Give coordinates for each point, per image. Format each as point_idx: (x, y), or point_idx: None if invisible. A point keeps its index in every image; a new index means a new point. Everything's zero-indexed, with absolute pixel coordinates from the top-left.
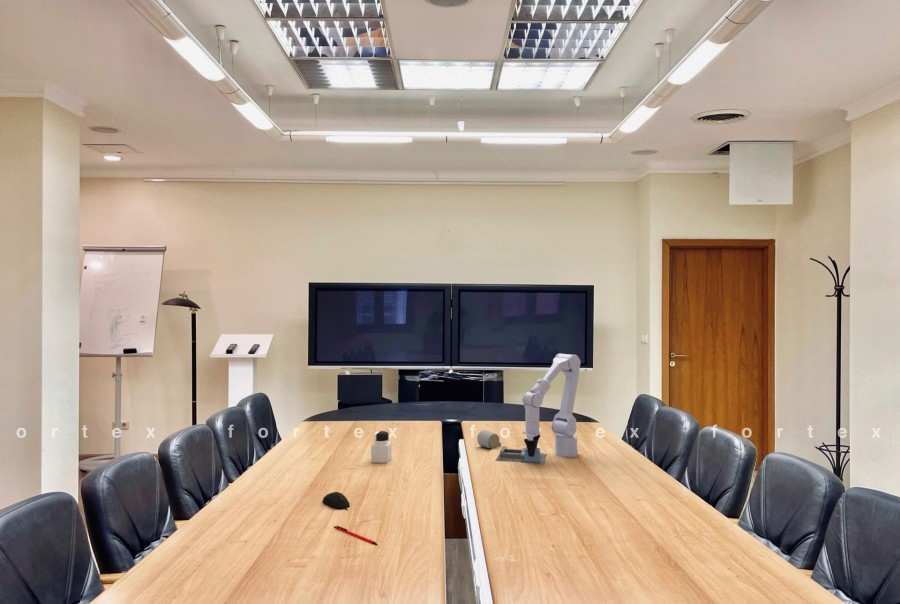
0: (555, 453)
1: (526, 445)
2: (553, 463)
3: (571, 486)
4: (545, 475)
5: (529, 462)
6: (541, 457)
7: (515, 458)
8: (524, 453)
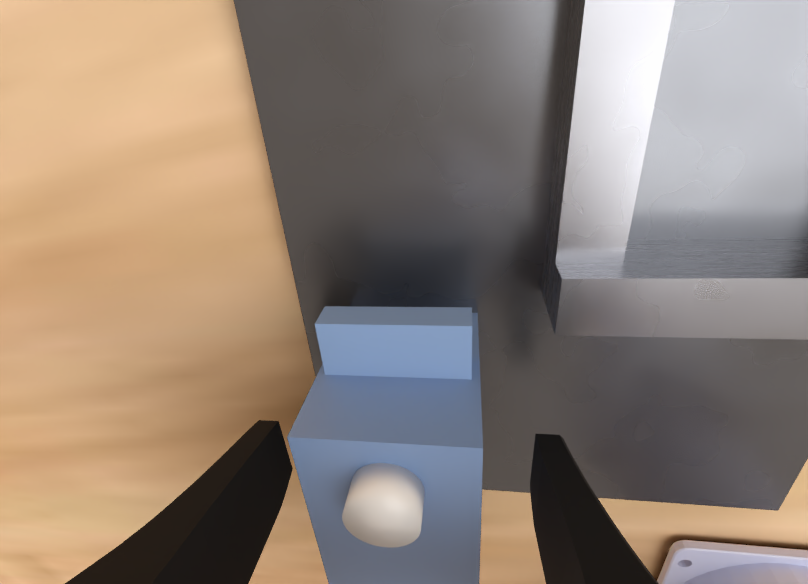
0: (773, 578)
1: (76, 579)
2: None
3: (5, 563)
4: (91, 468)
5: None
6: (602, 462)
7: (482, 163)
8: (369, 369)
